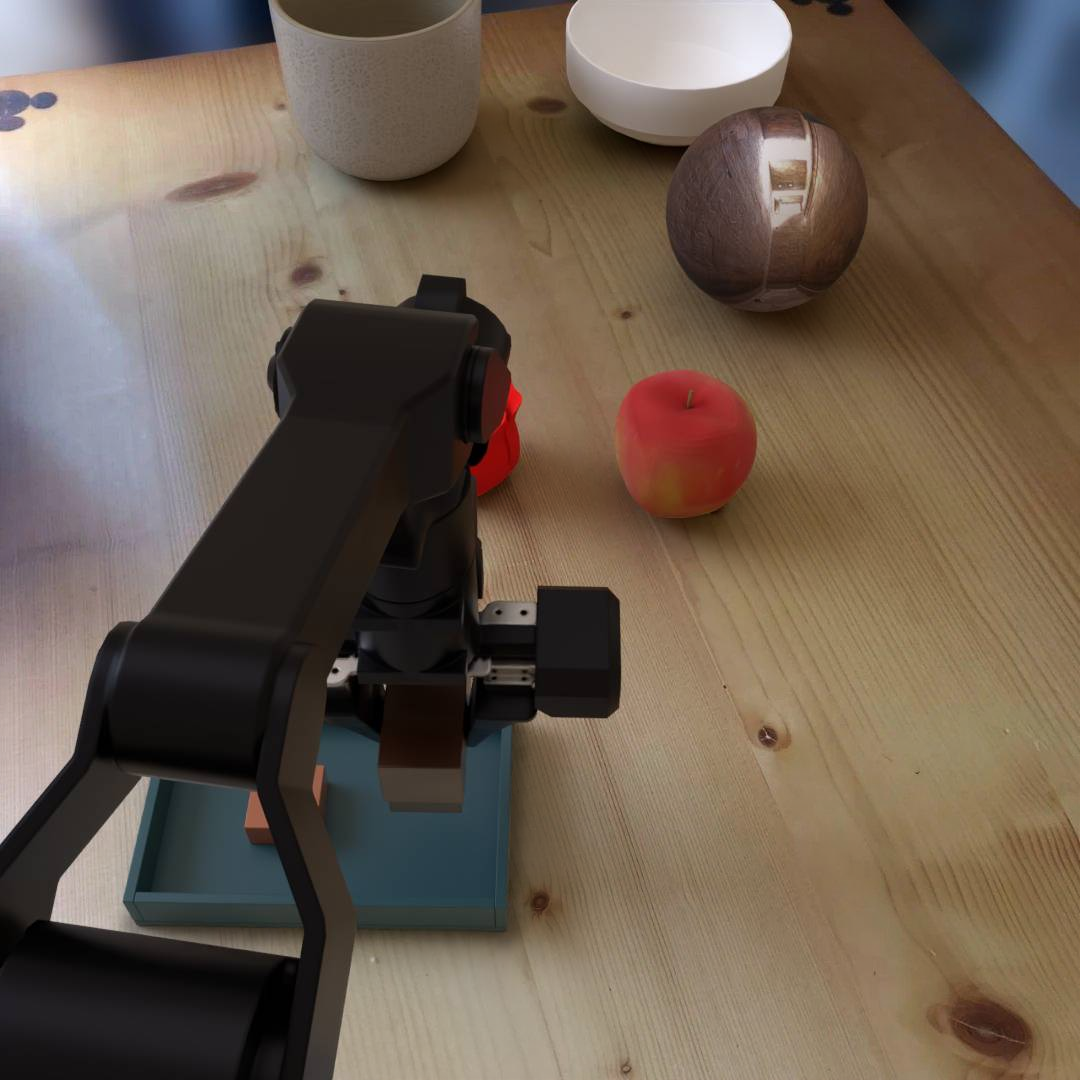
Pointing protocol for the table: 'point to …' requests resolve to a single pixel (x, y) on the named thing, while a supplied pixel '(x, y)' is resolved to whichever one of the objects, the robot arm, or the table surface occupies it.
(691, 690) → the table surface
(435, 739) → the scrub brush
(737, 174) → the wooden sphere
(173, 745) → the robot arm
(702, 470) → the apple
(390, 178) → the planter
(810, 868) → the table surface
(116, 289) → the table surface
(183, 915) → the tray
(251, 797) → the clay crumb
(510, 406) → the flower
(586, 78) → the bowl
